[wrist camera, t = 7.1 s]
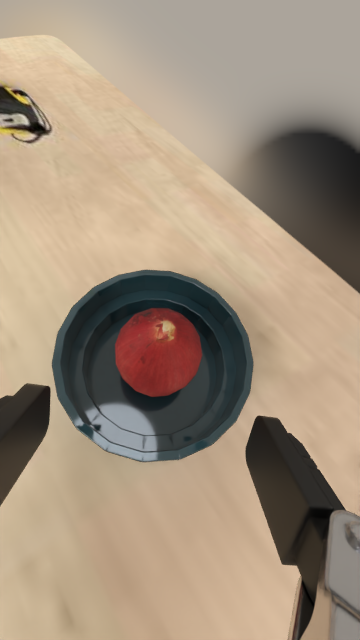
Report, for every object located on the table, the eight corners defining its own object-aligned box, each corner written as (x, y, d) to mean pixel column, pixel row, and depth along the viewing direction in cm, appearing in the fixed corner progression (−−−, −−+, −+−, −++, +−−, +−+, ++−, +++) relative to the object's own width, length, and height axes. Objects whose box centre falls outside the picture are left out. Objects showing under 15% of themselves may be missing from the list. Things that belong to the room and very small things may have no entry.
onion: (107, 350, 20) (92, 297, 13) (169, 324, 22) (186, 267, 15) (136, 418, 18) (137, 399, 11) (202, 383, 20) (238, 349, 13)
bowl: (38, 350, 20) (14, 326, 16) (168, 278, 25) (174, 246, 21) (133, 505, 16) (132, 523, 12) (260, 383, 21) (289, 368, 17)
